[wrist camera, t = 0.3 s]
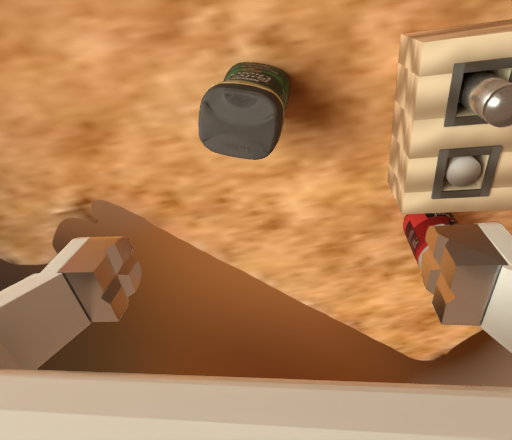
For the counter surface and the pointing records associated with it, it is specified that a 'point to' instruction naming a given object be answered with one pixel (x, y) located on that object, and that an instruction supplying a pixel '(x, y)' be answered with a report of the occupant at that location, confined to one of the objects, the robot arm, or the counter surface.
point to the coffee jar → (245, 111)
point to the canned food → (423, 229)
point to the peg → (487, 97)
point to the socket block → (449, 123)
